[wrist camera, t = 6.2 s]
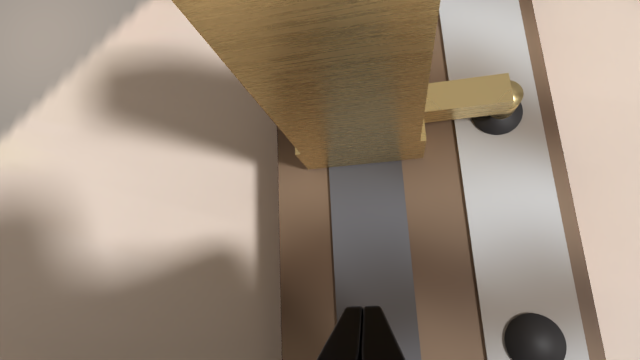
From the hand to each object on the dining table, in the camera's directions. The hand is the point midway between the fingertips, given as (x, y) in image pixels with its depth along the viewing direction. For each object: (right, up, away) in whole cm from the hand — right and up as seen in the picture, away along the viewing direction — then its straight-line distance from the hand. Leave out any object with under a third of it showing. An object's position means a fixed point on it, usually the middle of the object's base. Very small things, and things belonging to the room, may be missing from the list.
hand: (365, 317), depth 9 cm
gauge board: (+3, +5, +7) cm, 9 cm away
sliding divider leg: (+2, +6, +6) cm, 8 cm away
